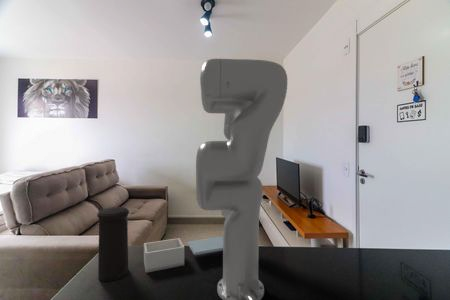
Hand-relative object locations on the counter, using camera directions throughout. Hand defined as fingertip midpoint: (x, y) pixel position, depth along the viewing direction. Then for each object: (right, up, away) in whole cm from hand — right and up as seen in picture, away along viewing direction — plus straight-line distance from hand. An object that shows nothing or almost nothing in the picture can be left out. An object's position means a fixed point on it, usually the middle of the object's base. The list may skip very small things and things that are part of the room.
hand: (230, 237), depth 87 cm
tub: (-22, -5, -8) cm, 25 cm away
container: (-36, -6, -15) cm, 39 cm away
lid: (-6, -3, -3) cm, 7 cm away
